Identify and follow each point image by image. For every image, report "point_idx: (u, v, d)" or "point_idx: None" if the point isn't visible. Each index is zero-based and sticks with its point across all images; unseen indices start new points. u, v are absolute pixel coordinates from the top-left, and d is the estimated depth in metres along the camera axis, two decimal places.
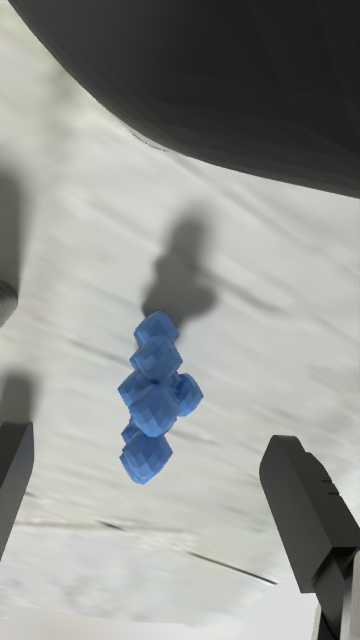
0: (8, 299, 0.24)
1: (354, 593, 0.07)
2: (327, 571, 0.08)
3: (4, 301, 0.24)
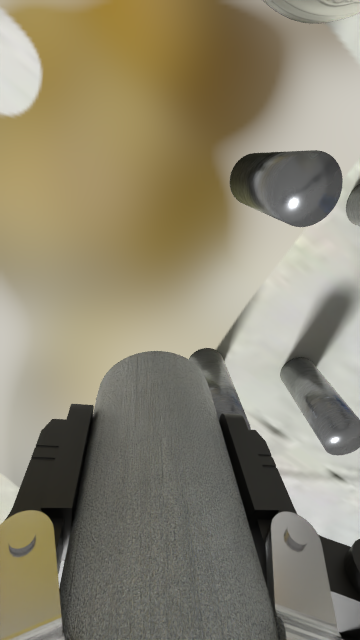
0: None
1: (275, 561, 0.07)
2: (253, 534, 0.08)
3: None
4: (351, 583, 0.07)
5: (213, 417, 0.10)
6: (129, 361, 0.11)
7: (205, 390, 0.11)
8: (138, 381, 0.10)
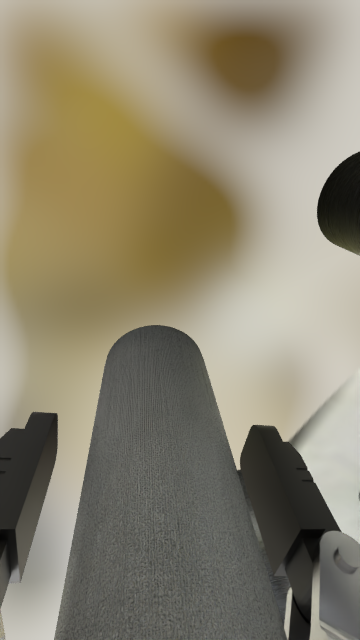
0: None
1: (322, 577, 0.07)
2: (297, 553, 0.08)
3: None
4: None
5: (205, 378, 0.12)
6: (133, 333, 0.13)
7: (199, 358, 0.13)
8: (141, 347, 0.12)
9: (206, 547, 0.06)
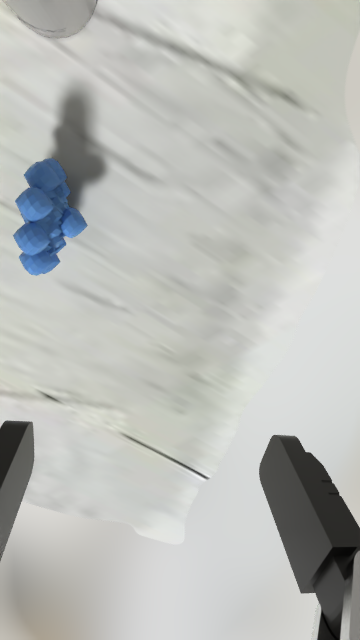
0: None
1: (354, 593, 0.07)
2: (327, 571, 0.08)
3: None
4: None
5: None
6: None
7: None
8: None
9: None
